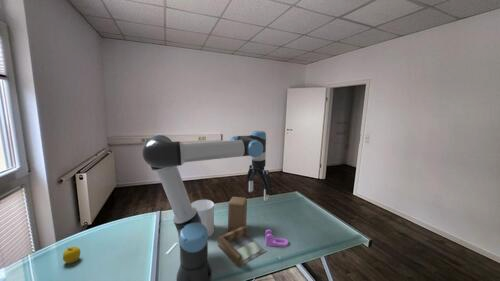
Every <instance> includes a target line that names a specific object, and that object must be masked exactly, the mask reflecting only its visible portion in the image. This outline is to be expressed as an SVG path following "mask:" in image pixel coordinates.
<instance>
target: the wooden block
mask: <svg viewBox="0 0 500 281" xmlns="http://www.w3.org/2000/svg"><path fill="white" fill-rule="evenodd" d="M227 206H228V208H227V210H228V211H227V212H228V213H227V216H228V217H227V233H228V232H231V231H233V230H235V229H238V228H240V227H242V226H245V225H246V226H247V210H248V208H247V207H248V199H247V197H242V196H241V197H240V196H232V197H231V198H230V200H229V201H228V204H227Z"/></svg>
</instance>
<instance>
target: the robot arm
mask: <svg viewBox="0 0 500 281" xmlns="http://www.w3.org/2000/svg"><path fill="white" fill-rule="evenodd" d="M266 148H267V133H266V132H265V131H264V130H253V131H252V133H251V134H250V135H236V136H232V137H231V138H230V140H219V141H205V142H204V141H203V142H192V143H191V142H189V143H184V142H181V140H180V141H172V140H171V138H169V137H168V136H166V135H163V134H157V135H154V136H151V137H150V138H148V139H147V140H146V141H145V143H144V146H143V148H142V158H143V160H144V161H145V163H146V164H147V165H149V166H150V168H151V170H152V171H154V172H156V173H157V176H158V177H159V179H160V183H161V185H162V187H163V190H164V192H165V195H166V197H167V200H168V203H169V204H170V207H171V210H172V212H173V214H174V215H173V218H172V221H173V224H174V226H175V228H176V231H177V235H178V243H179V260H180V261H179V263H180V265H179V267H178V271H177V274H176V281H211V280H212V277H213V273H212V272H213V271H212V267H211V264H210V263H209V260H208V256H209V253H208V252H209V249H208V248H209V247H208V246H209V244H208V243H209V242H208V241H209V237H208V233H207V229H206V227H205V226H204V225H203V224H202V223H201V218H200V216H199V214H198V212H197V209H196V208H195V207H192V205H191V203H192V202H191V199H190V197H189V195H188V192H187V189H186V187H185V184H184V182H183V178H182V176H181V174H180V173H181V172H180V170H179V169H178V167H179V166H183V165H184V164H185V163H192V162H201V161H211V160H221V159H229V158H239V157H250V158H251V164H250V165H249V168H248V171H247V174H246V177H245V179H246V180H247V181H248V192H249V193H251V192H254V178H256V177H255V176H257V177H259V179H261V182H262V184H263V187H264V189H263V201H265V202H266V201H268V200H269V196H270V190H271V189H273V184H272V181H271V178H270V172H269V170H268V169H265V167H266V155H267V153H266V152H267V150H266Z"/></svg>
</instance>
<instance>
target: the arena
mask: <svg viewBox="0 0 500 281" xmlns="http://www.w3.org/2000/svg"><path fill="white" fill-rule="evenodd" d="M217 241H218V242H217V243H218V245H217V246H218V248H219V249H220V250H221V251H222V253H224V254H225V255H226V256H227V258H228V259H229V260H230V261H231V262H232V263H233V264H234V266H236V267H237V269H239V268H240V267H242V266H243V265H245V264H247V263H249V262H250V261H252V260H254V259H256V258H257V257H259V256H261V255H263V254H264V253H266V252H267V250H266V249H265V248H264V247H263V246H262V245H260V243H258V242H256V241H255V240H254V239H253V238H252V237H251V236H249V235H248V226H247V224H246V225H245V226H242V227H240V228H238V229H235V230H233V231H231V232H228V231H227V232H226V233H224V234H222V235H219V236H218V238H217Z"/></svg>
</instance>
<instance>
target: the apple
mask: <svg viewBox="0 0 500 281" xmlns="http://www.w3.org/2000/svg"><path fill="white" fill-rule="evenodd" d="M80 256H81V249H80V247H78V246H72V247H67V248H66V249H65V250H64V252H63V254H62V261H64V263H66V264H73V263H76V262H77V261H78V260H79V258H80Z"/></svg>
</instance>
